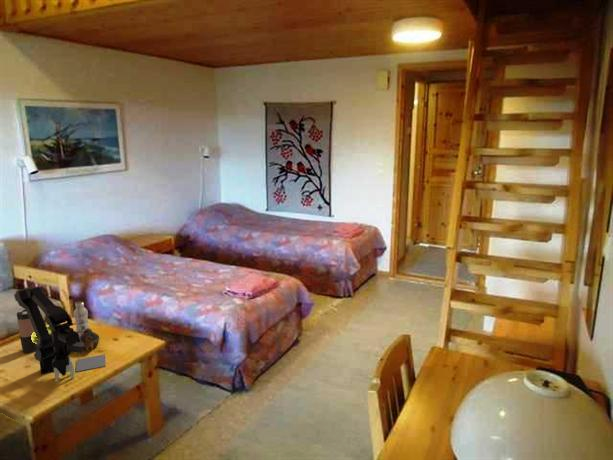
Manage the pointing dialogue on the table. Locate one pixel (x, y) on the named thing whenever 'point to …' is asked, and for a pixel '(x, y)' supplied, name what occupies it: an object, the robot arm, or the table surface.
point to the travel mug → (26, 332)
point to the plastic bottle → (80, 318)
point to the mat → (90, 363)
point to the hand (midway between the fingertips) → (64, 372)
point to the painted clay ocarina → (89, 339)
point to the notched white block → (68, 369)
